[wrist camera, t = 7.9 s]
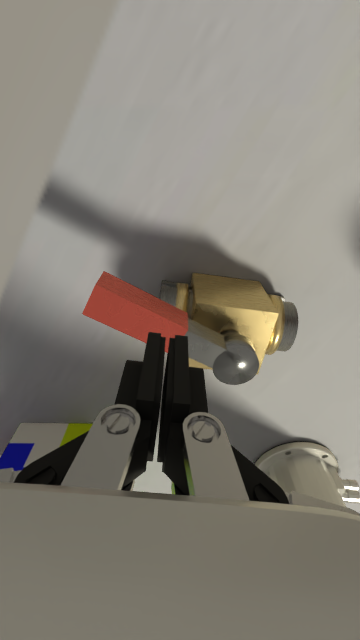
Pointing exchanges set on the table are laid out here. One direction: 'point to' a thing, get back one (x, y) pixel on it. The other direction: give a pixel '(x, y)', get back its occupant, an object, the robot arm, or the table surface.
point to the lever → (170, 328)
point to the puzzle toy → (38, 442)
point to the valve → (236, 311)
